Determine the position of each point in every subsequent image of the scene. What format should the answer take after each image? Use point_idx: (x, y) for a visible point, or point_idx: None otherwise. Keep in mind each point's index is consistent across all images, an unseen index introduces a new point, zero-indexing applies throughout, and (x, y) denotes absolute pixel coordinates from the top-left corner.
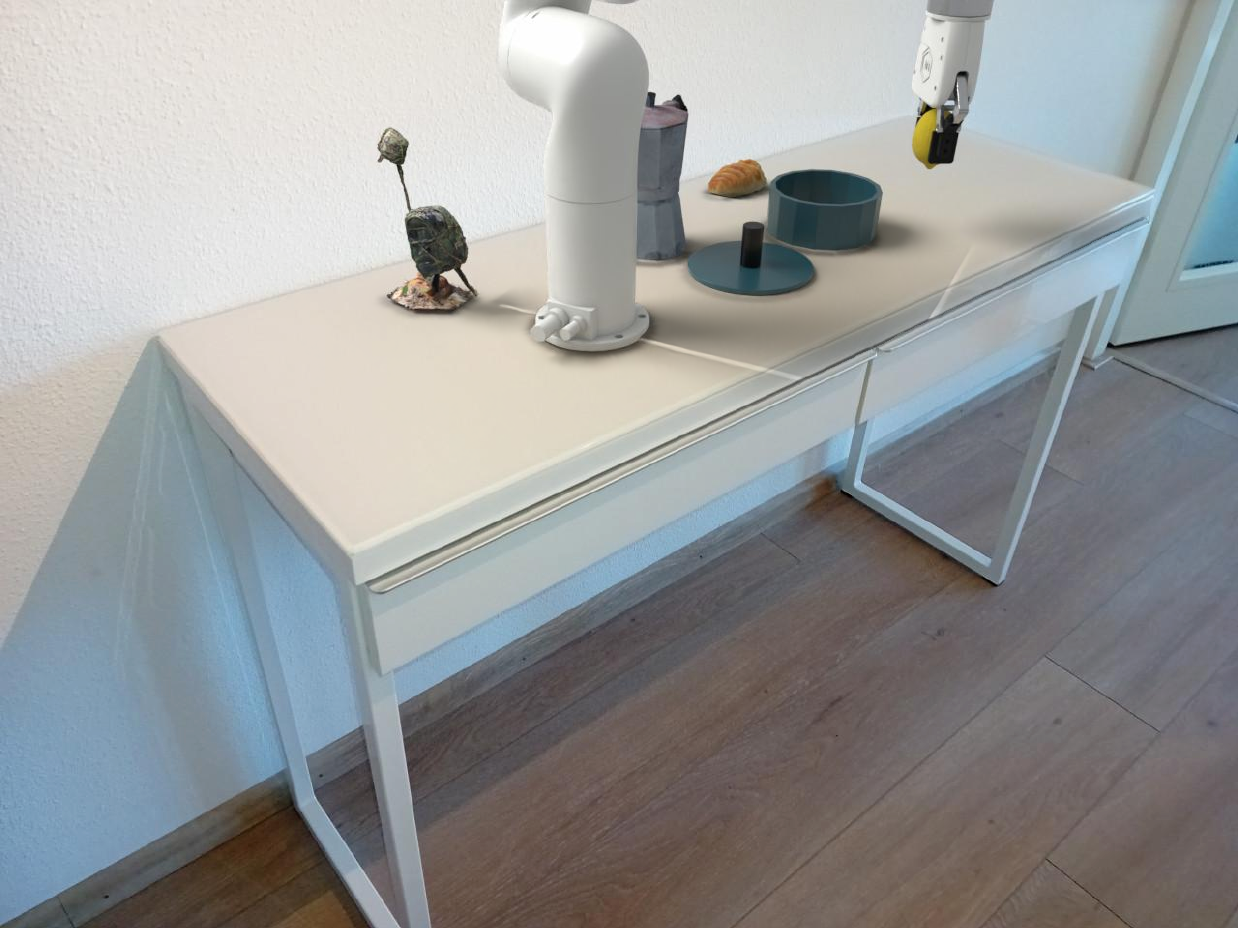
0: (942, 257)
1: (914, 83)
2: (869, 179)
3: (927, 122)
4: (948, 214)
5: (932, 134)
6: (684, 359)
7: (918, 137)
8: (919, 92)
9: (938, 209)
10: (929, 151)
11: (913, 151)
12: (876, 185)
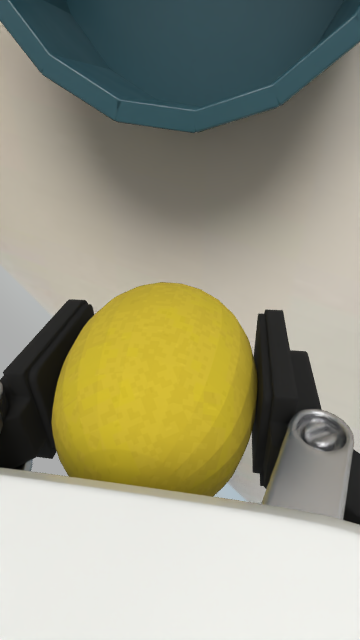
0: (67, 245)
1: (350, 637)
2: (263, 103)
3: (78, 389)
4: (299, 337)
5: (24, 362)
6: None
7: (111, 314)
8: (104, 534)
9: (333, 329)
10: (62, 318)
11: (173, 283)
12: (188, 115)
